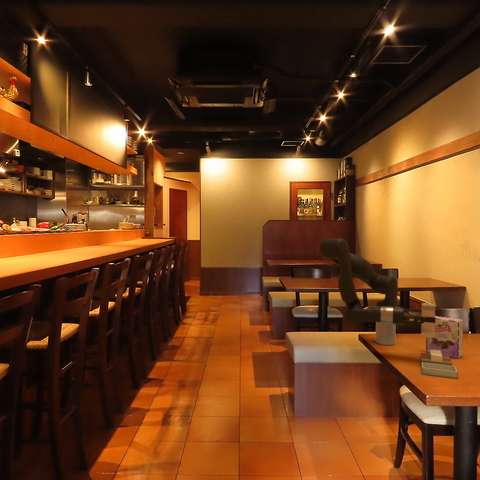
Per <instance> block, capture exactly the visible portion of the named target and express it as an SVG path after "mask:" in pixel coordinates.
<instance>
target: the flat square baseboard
mask: <svg viewBox="0 0 480 480" xmlns="http://www.w3.org/2000/svg"><path fill="white" fill-rule="evenodd" d="M422 362H426V363H435V364H444V365H452V366H453V362H452V360H451V357H450V356H443V355H442V362H433V361H431V358H430V353H421V352H420V368H421V369H422Z"/></svg>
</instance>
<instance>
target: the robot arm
mask: <svg viewBox="0 0 480 480" xmlns="http://www.w3.org/2000/svg"><path fill="white" fill-rule="evenodd" d="M319 245H320V246H319V250H320V253H321V255H322V256H323V257H324V258H325V259H326V260H329V261H331V262H333V263H334V264H337V265H338V266H340V271H339V276H338V279H337V280H338V281H337V287H338V291H339V295H340V298H341V300H342V302H344V304H345V307H346V308H345V311H344V312H345V313H344V318H345V319H346V321H348V322H350V323H353V324H363V323H370V322H372V323H375V343H377V344H379V345H383V346H394V345H396V337H397V336H396V335H397V334H396V331H397V328H396V327H397V326H396V325H398V326H404V323H405V322H404V321H407V322H408V323H410V324H412V323H413V324H421V323H425V322H429V323H435V322H436V319H435V317H425V316H421V314H422V312H418V311H416V312H415V311H408V312H405V308H404V307H403V306H401V307H399V306H397V303H398V291H399V289H398V288H399V282H398V280H397V278H396V277H395V276H390V275H383V274H382V275H381V274H378V273H376V272H374V267H373V265H372V264H371V263H370V262H369V261H368V260H366V259H365V258H364V257H362V256H360V255H358V254H355V253H352V252H351V251H350V247H349V243H348V242H347V240H346V239H344V238H341V237H339V238H338V237H337V238H336V237H335V238H325V239H324V240H323V241H321V243H320V244H319ZM353 277H355V278H357V279H358V280H360V281H361V282H363V283H365V284H366V285H367V286H369V287H370V289H371V290H372V291H374V292H375V293H376V294H380V295H385V296H384V298H383V300H379V301H376V303H375V305H370V306H368V307H367V308H363V306H362V303H361V301H360V299H359V297H358V294H357V290H356V286H355V282H354V278H353Z"/></svg>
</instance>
